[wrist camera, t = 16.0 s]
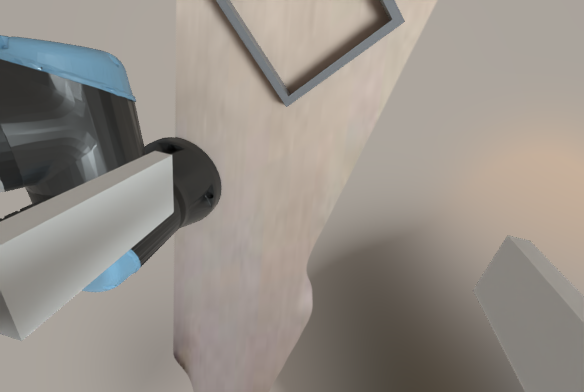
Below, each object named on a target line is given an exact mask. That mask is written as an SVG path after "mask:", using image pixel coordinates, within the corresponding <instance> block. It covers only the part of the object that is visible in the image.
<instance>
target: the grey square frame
mask: <svg viewBox="0 0 584 392" xmlns="http://www.w3.org/2000/svg"><path fill="white" fill-rule="evenodd" d="M216 1H217V3H218V4H219V6H220V7H221V9H222V10H223V12H224V13H225V15H226V17H227V18H228V20H229V21H230V23H231V24H232V26H233V27H234V29H235V30H236V32H237V33H238V35H239V36H240V38H241V39H242V41H243V42H244V44H245V45H246V47H247V48H248V50H249V51H250V53H251V54H252V56H253V57H254V59H255V60H256V62H257V63H258V65H259V66H260V68H261V69H262V71H263V72H264V74H265V75H266V77H267V79H268V80H269V82H270V83H271V85H272V86H273V88H274V89H275V91H276V92H277V94H278V95H279V97H280V98H281V100H282V101H283V103H284V104H285V106H286V107H287V106H289V105H290V104H292V103H293V102H294V101H296V100H297V99H299V98H300V97H301V96H303V95H304V94H305V93H307V92H308V91H310V90H311V89H312V88H314V87H315V86H317V85H318V84H319V83H321V82H322V81H323V80H325V79H326V78H328V77H329V76H330V75H332V74H333V73H334V72H336V71H337V70H339V69H340V68H341V67H343V66H344V65H346V64H347V63H348V62H350V61H351V60H352V59H354V58H355V57H357V56H358V55H359V54H361V53H362V52H364V51H365V50H366V49H368V48H369V47H370V46H372V45H373V44H375V43H376V42H377V41H379V40H380V39H381V38H383V37H384V36H386V35H387V34H388V33H390V32H391V31H393V30H394V29H395V28H397V27H398V26H399V25H401V24H402V23H404V22H405V21H404V19H403V17H402V15H401V13H400V11H399V9H398V7H397V5H396V3H395V1H394V0H380V2H381V4H382V6H383V8H384V10H385V12H386V14H387V16H388V18H389V19H390V22H388V23H387V24H385V25H384V26H383V27H381V28H380V29H379V30H377V31H376V32H375V33H373V34H372V35H371V36H369V37H368V38H367V39H365V40H364V41H363V42H361V43H360V44H358V45H357V46H356V47H354V48H353V49H352V50H350V51H349V52H348V53H346V54H345V55H344V56H342V57H341V58H340V59H338V60H337V61H335V62H334V63H333V64H331V65H330V66H329V67H327V68H326V69H325V70H323V71H322V72H321V73H319V74H318V75H317V76H315V77H314V78H313V79H311V80H310V81H308V82H307V83H306V84H304V85H303V86H302V87H300V88H299V89H298V90H296V91H295V92H294V93H292V94H290V93H289V91H288V89H287V88H286V86H285V85H284V83H283V82H282V80H281V79H280V77H279V76H278V74H277V73H276V71H275V69H274V68H273V66H272V65H271V63H270V62H269V60H268V59H267V57H266V56H265V54H264V52H263V51H262V49H261V48H260V46H259V45H258V43H257V42H256V40H255V39H254V37H253V35H252V34H251V32H250V31H249V29H248V28H247V26H246V25H245V23H244V22H243V20H242V19H241V17H240V15H239V14H238V12H237V11H236V9H235V8H234V6H233V5H232V3H231V2H230V0H216Z"/></svg>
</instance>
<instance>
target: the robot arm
mask: <svg viewBox="0 0 584 392" xmlns="http://www.w3.org/2000/svg"><path fill="white" fill-rule="evenodd" d="M135 102H136V99H135V97H134V96H133V95H132V91H131V88H130V85H129V81H128V77H127V74H126V71H125V68H124V66H123V64H122V63H121V62H120V61H119V60H118V59H117V58H116V57H115V56H113V55H112V54H110V53H107V52H104V51H101V50H96V49H92V48H87V47H82V46H76V45H70V44H64V43H58V42H51V41H44V40H37V39H29V38H21V37H8V36H1V35H0V192H6V191H10V190H14V189H18V188H22V187H25V188H26V190H27V192H28V194H29V196H30V198H31V201H32V204H31V205H29V206H27V207H24V208H22V209H20V211H19V212H18V211H16V212H13V213H11V214H9V215H7V216H5V217H4V219H0V334H2V335H5V336H8V337H11V338H14V339H17V340H20V341H22V340H24V339H25V338H26V337H27V336H28V335H30V333H32V332H33V331H34V330H35V329H37V328H38V327H39V326H40V325H41V324H42V323H44V322H45V321H46V320H47V319H48V318H50V317H51V316H52V315H53V314H54V313H55V312H57V310H59V309H60V308H61V307H62V306H64V305H65V304H66V303H67V302H68V301H70V300H71V299H72V298H73V297H74V296H76V295H77V294H78V293H79V292H80V291H81V290H82V291H88V292H103V291H107V290H110V289H113V288H115V287H117V286H118V285H119V284H121V283H122V282H123V281H124V280H125V279H127V278H128V277H129V276H130V275H131V274H133V273H135V272H137V271H138V270H139V268H140V267H141V266H142V265H143V264H144V263H145V262H146V261H147V260H148V259H149V258H150V257H151V256H152V255H153V254H154V253H155V252H156V251H157V250H158V249H159V248H160V247H161V246H162V245H163V244H164V243H165V242H166V241H167V240H168V239H169V238H170V237H171V236H172V235H173V234H174V233H175V232H176V231H177V230H178V229H179V228H181V227H184V226H187V225H189V224H192V223H195V222H197V221H200V220H201V219H203V218H205V217H206V216H207V215H208V214H209V213H210V212H211V211H212V210H213V209H214V208H215V207H216V205H217V203H218V201H219V199H220V195H221V181H220V176H219V173H218V171H217V169H216V167H215V165H214V163H213V162H212V160H211V159H210V158H209V156H208V155H207V154H206V153H205V152H204V151H203V150H201V149H200V148H199V147H197V146H196V145H194V144H193V143H191V142H189V141H186V140H183V139H180V138H172V137H171V138H162V139H159V140H157V141H154V142H152V143H150V144H148V145H147V146H145V147H144V144H143V139H142V135H141V130H140V126H139V121H138V116H137V111H136V107H135ZM473 292H474V293H475V296H476V297H477V300H478V302H479V303H480V305H481V307H482V309H483V311H484V313H485V315H486V317H487V319H488V321H489V323H490V325H491V327H492V329H493V331H494V333H495V335H496V337H497V339H498V341H499V342H500V344H501V346H502V348H503V350H504V352H505V354H506V356H507V358H508V360H509V362H510V364H511V366H512V368H513V370H514V372H515V374H516V375H517V378H518V380H519V381H520V383H521V386H522V387H523V389H524V391H525V392H584V296H583V295H582V294H581V293H580V292H579V291H578V290H577V289H576V288H575V287H574V286H573V285H572V284H571V283H570V282H569V281H568V280H567V279H566V278H565V277H564V275H563V274H562V273H561V272H560V271H558V269H557V268H556V267H555V266H554V265H553V264H552V263H551V262H550V261H549V260H548V259H547V258H546V257H545V256H544V255H543V254H542V253H541V252H540V251H539V250H538V249H537V248H536V247H535V245H534V244H533V243H532V242H531V241H529V240H525V239H521V238H517V237H513V236H507V237H506V239H505V240H504V242H503V243H502V245H501V247H500V248H499V250H498V251H497V253H496V254H495V256H494V258H493V259H492V261H491V262H490V264H489V265H488V267H487V269H486V270H485V272H484V273H483V275H482V277H481V278H480V280H479V281H478V283H477V285H476V286H475V288H474V289H473Z"/></svg>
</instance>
